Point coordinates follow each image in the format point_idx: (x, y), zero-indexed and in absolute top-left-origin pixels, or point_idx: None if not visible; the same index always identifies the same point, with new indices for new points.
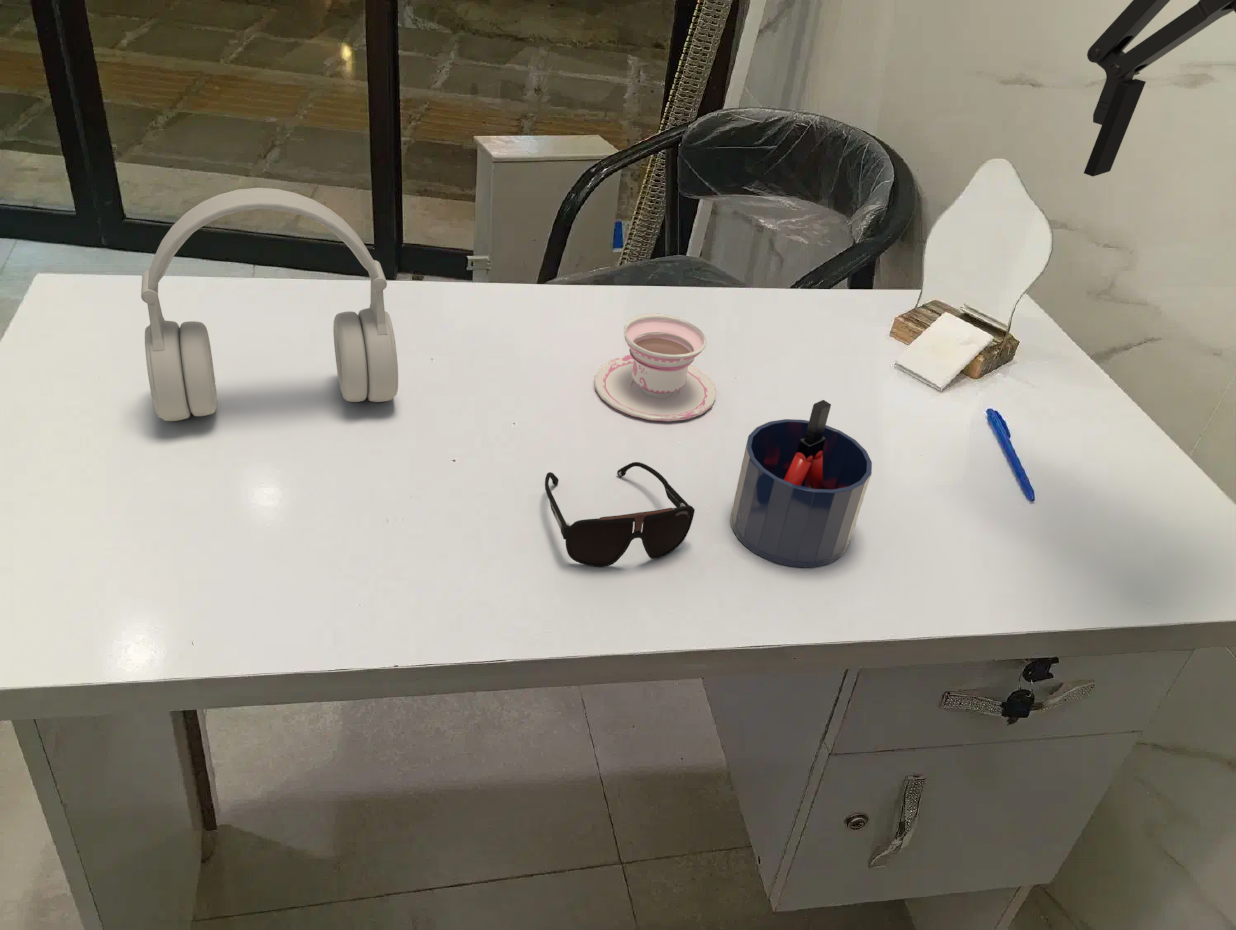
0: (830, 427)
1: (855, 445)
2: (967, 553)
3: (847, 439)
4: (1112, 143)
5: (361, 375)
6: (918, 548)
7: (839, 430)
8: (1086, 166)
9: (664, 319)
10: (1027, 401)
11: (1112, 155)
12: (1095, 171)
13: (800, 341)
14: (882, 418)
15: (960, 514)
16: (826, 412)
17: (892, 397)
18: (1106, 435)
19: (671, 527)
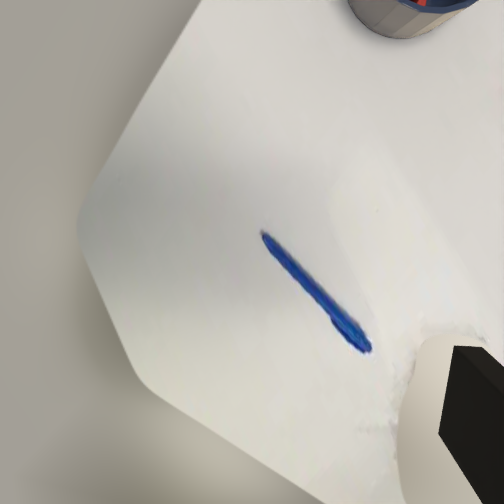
0: (456, 8)
1: (414, 2)
2: (262, 99)
3: (428, 7)
4: (490, 439)
5: None
6: (298, 63)
7: (445, 12)
8: (490, 355)
9: None
10: (350, 397)
11: (463, 441)
12: (459, 356)
13: None
14: (441, 237)
15: (298, 152)
16: None
17: (454, 283)
18: (266, 404)
19: None
